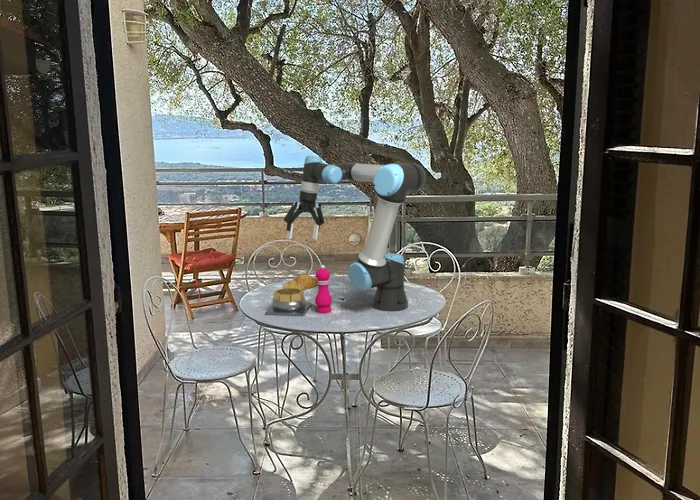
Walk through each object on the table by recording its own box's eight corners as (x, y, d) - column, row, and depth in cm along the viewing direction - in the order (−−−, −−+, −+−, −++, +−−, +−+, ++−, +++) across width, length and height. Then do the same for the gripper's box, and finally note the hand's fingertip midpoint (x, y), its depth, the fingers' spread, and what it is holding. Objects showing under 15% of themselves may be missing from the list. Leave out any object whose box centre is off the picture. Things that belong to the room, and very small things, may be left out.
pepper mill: (330, 314, 256) (329, 267, 252) (313, 313, 257) (312, 266, 253) (334, 309, 263) (333, 263, 259) (317, 308, 264) (316, 262, 260)
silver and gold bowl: (311, 305, 269) (311, 287, 267) (303, 316, 253) (302, 297, 252) (276, 304, 271) (275, 286, 270) (265, 315, 256) (264, 295, 254)
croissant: (286, 299, 293) (289, 286, 289) (277, 286, 300) (279, 273, 295) (324, 291, 305) (327, 279, 300) (314, 278, 311) (317, 266, 307)
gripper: (327, 191, 282) (320, 237, 286) (280, 187, 267) (273, 235, 271) (336, 194, 277) (329, 240, 280) (289, 190, 261) (282, 239, 265)
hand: (301, 238), depth 276 cm, fingers open, 13 cm apart
